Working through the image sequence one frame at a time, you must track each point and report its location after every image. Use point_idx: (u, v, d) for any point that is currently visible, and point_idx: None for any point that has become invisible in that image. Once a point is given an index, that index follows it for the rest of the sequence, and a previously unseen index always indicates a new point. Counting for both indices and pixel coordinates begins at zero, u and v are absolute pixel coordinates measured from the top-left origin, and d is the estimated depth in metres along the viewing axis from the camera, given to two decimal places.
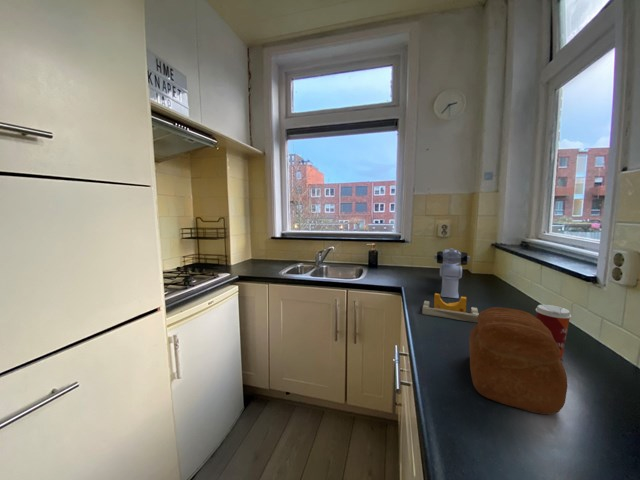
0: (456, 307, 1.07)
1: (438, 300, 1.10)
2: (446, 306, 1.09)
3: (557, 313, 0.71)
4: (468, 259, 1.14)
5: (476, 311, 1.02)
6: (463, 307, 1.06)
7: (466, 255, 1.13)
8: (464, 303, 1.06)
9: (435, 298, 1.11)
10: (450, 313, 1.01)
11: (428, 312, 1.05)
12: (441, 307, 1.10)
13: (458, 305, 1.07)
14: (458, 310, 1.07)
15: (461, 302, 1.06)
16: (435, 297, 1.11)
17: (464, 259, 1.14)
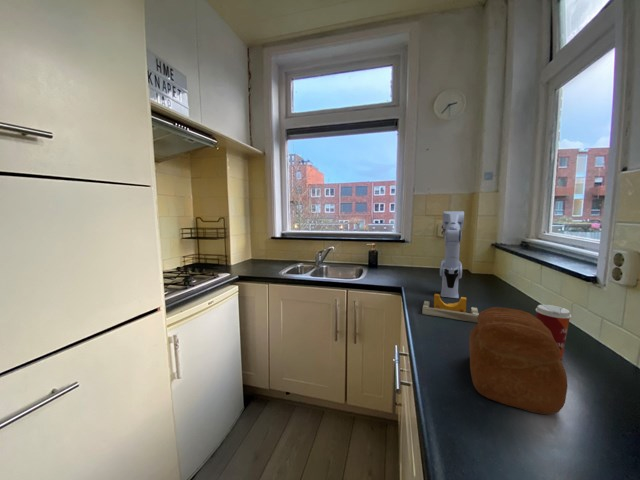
0: (456, 308, 1.07)
1: (438, 301, 1.10)
2: (446, 307, 1.08)
3: (557, 313, 0.71)
4: None
5: (476, 311, 1.02)
6: (463, 308, 1.06)
7: (447, 275, 1.12)
8: (464, 303, 1.05)
9: (435, 298, 1.10)
10: (450, 313, 1.01)
11: (428, 312, 1.05)
12: (441, 308, 1.09)
13: (458, 306, 1.06)
14: (458, 311, 1.07)
15: (461, 302, 1.06)
16: (435, 297, 1.10)
17: None
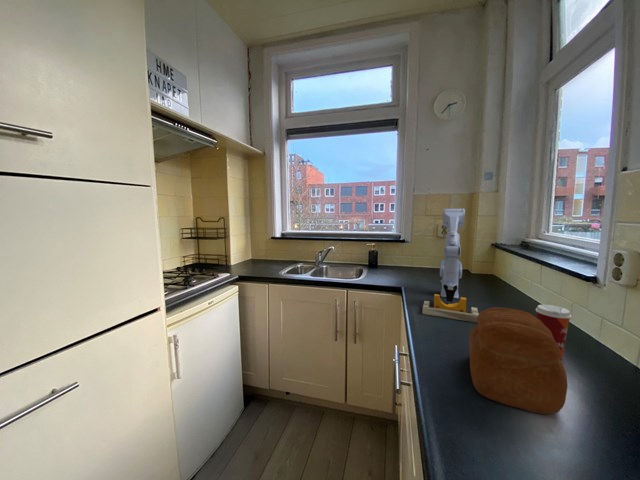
0: (456, 308, 1.06)
1: (438, 301, 1.09)
2: (446, 307, 1.08)
3: (557, 313, 0.71)
4: None
5: (476, 311, 1.02)
6: (463, 308, 1.05)
7: (446, 289, 1.15)
8: (464, 304, 1.05)
9: (435, 299, 1.10)
10: (450, 313, 1.01)
11: (428, 312, 1.05)
12: (441, 308, 1.09)
13: (458, 306, 1.06)
14: (458, 311, 1.06)
15: (461, 303, 1.05)
16: (435, 298, 1.10)
17: None
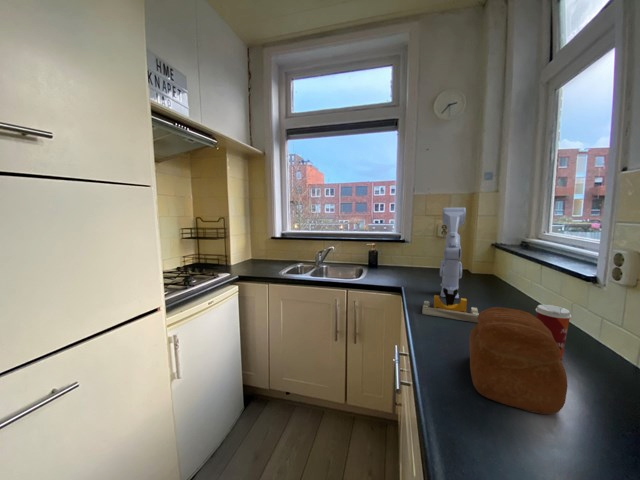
0: (456, 309, 1.05)
1: (438, 302, 1.08)
2: (446, 308, 1.07)
3: (557, 313, 0.71)
4: None
5: (476, 311, 1.02)
6: (463, 309, 1.04)
7: (446, 293, 1.09)
8: (464, 305, 1.04)
9: (435, 300, 1.08)
10: (450, 313, 1.01)
11: (428, 312, 1.05)
12: None
13: (458, 307, 1.05)
14: None
15: (461, 304, 1.04)
16: (435, 299, 1.08)
17: None
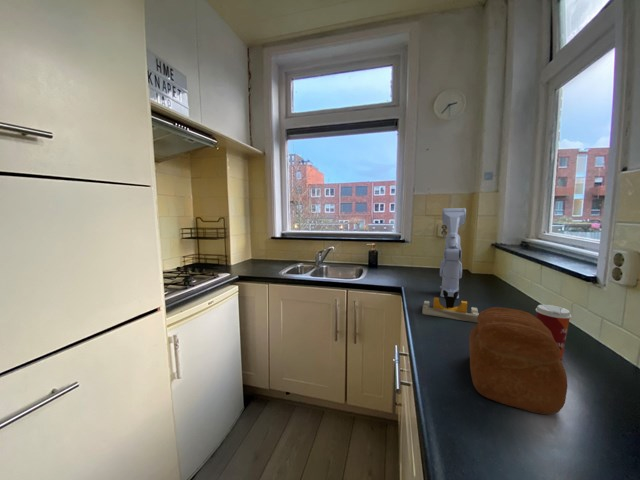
0: None
1: (437, 305, 1.05)
2: None
3: (557, 313, 0.71)
4: None
5: (476, 311, 1.02)
6: (464, 312, 1.01)
7: (446, 296, 1.06)
8: (465, 308, 1.00)
9: (434, 302, 1.05)
10: (450, 313, 1.01)
11: (428, 312, 1.05)
12: None
13: (458, 310, 1.01)
14: None
15: (462, 307, 1.01)
16: (434, 301, 1.05)
17: None
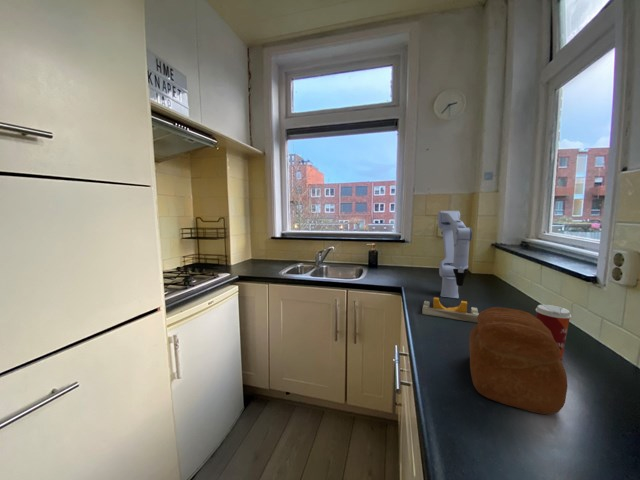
0: None
1: (437, 305, 1.05)
2: None
3: (557, 313, 0.71)
4: None
5: (476, 311, 1.02)
6: (464, 312, 1.01)
7: (456, 273, 1.12)
8: (465, 308, 1.00)
9: (434, 302, 1.05)
10: (450, 313, 1.01)
11: (428, 312, 1.05)
12: None
13: (458, 310, 1.01)
14: None
15: (461, 307, 1.01)
16: (434, 301, 1.05)
17: None
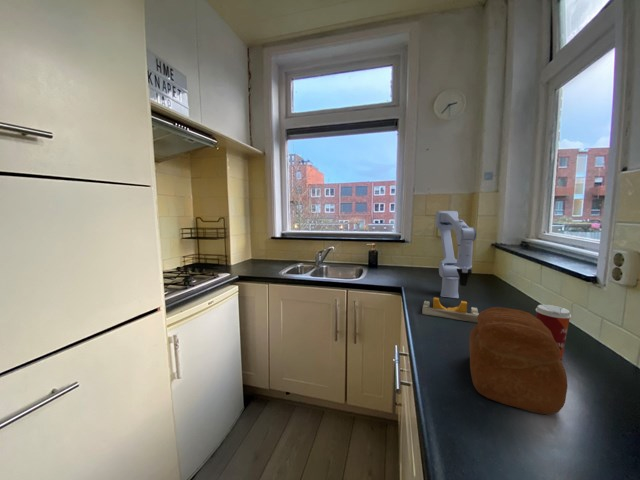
0: None
1: (437, 305, 1.05)
2: None
3: (557, 313, 0.71)
4: None
5: (476, 311, 1.02)
6: None
7: (459, 273, 1.12)
8: (464, 308, 1.00)
9: (434, 302, 1.05)
10: (450, 313, 1.01)
11: (428, 312, 1.05)
12: None
13: (458, 310, 1.01)
14: None
15: (461, 307, 1.01)
16: (434, 301, 1.05)
17: None
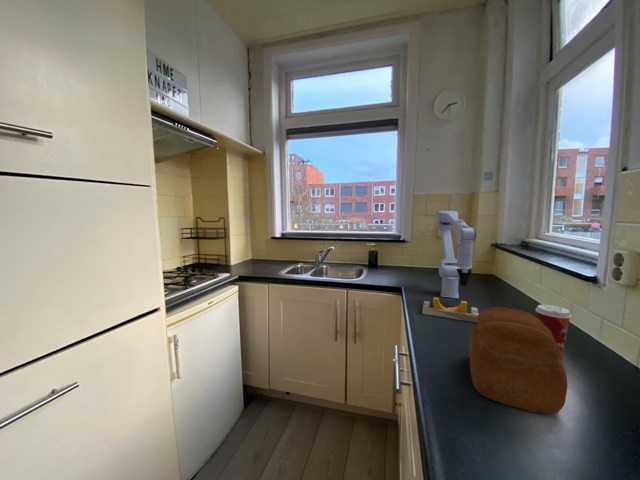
0: None
1: (437, 304, 1.05)
2: None
3: (557, 313, 0.71)
4: None
5: (476, 311, 1.02)
6: None
7: (459, 273, 1.12)
8: (464, 308, 1.00)
9: (434, 302, 1.05)
10: (450, 313, 1.01)
11: (428, 312, 1.05)
12: None
13: (458, 310, 1.01)
14: None
15: (461, 307, 1.01)
16: (434, 301, 1.05)
17: None
